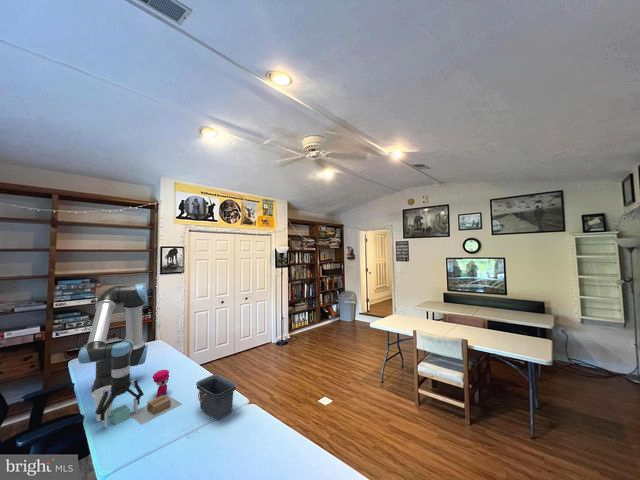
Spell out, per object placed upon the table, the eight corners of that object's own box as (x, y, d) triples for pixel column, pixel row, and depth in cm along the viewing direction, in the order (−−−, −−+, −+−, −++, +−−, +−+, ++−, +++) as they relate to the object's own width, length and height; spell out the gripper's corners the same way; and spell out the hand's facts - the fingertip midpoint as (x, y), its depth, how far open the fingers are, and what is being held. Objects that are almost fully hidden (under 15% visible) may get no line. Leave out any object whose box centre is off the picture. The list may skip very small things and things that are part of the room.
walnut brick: (147, 409, 137) (147, 402, 137) (163, 402, 143) (163, 395, 143) (154, 414, 132) (154, 406, 132) (170, 406, 139) (170, 399, 139)
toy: (161, 401, 146) (161, 374, 146) (148, 400, 147) (149, 373, 148) (172, 393, 154) (172, 368, 155) (160, 392, 156) (161, 367, 156)
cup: (87, 426, 126) (88, 398, 126) (94, 414, 135) (95, 388, 136) (114, 419, 131) (115, 392, 131) (119, 408, 140) (119, 383, 140)
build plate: (127, 415, 134) (127, 413, 134) (168, 397, 150) (168, 395, 150) (141, 426, 125) (141, 424, 125) (182, 405, 141) (182, 404, 141)
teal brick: (110, 422, 128) (110, 410, 129) (124, 416, 133) (124, 404, 134) (115, 427, 125) (115, 414, 125) (129, 420, 130) (129, 408, 130)
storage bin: (239, 411, 135) (239, 383, 136) (212, 428, 123) (212, 397, 123) (216, 398, 148) (216, 373, 148) (189, 412, 135) (189, 384, 136)
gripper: (92, 388, 118) (91, 436, 117) (151, 367, 138) (151, 408, 137) (87, 383, 122) (86, 430, 121) (144, 364, 142) (144, 404, 141)
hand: (120, 418), depth 129 cm, fingers open, 12 cm apart
